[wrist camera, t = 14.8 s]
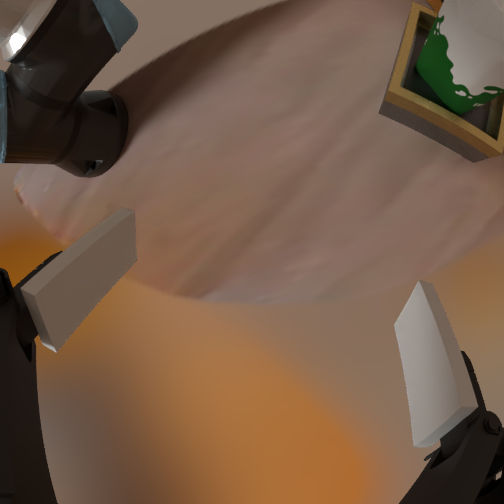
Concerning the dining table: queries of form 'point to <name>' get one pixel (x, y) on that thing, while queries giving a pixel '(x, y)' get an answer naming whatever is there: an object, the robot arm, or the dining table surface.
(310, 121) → the dining table surface
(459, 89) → the soya milk
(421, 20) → the open square tray
